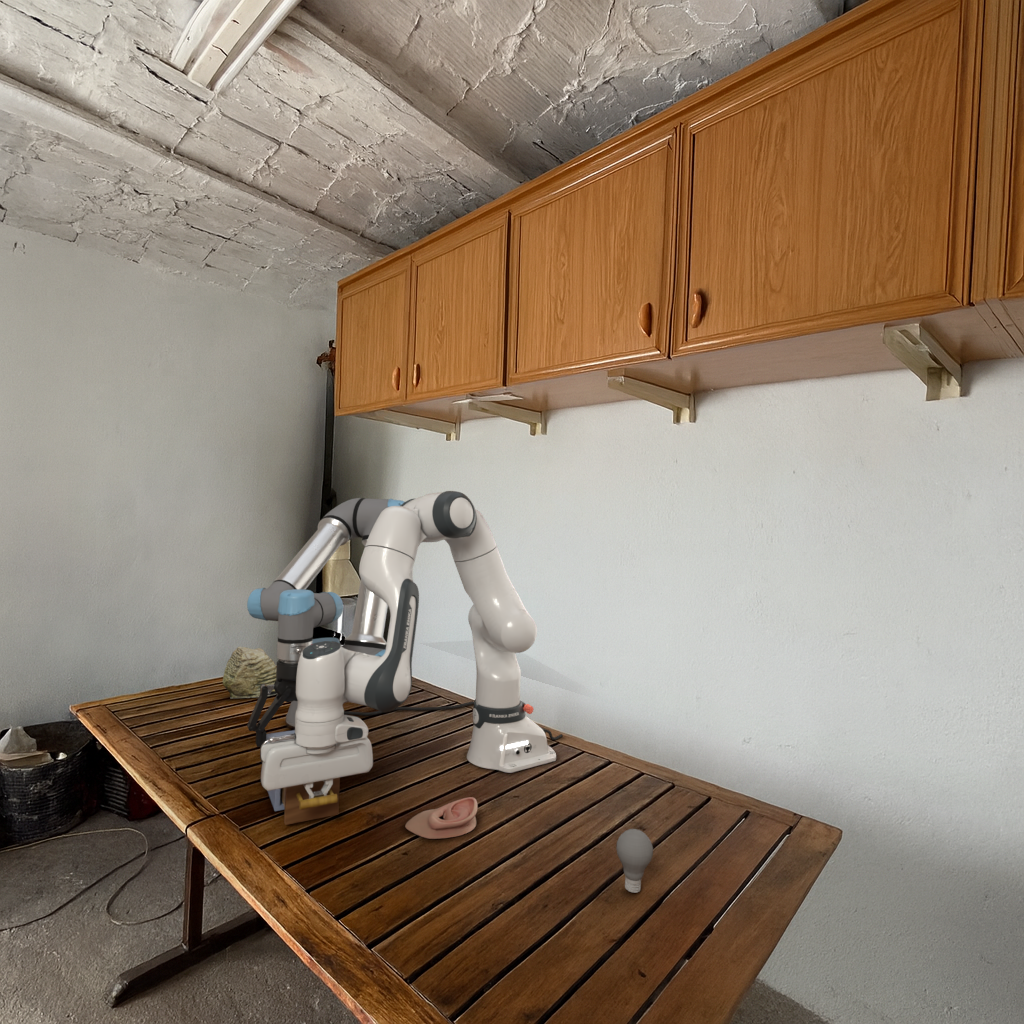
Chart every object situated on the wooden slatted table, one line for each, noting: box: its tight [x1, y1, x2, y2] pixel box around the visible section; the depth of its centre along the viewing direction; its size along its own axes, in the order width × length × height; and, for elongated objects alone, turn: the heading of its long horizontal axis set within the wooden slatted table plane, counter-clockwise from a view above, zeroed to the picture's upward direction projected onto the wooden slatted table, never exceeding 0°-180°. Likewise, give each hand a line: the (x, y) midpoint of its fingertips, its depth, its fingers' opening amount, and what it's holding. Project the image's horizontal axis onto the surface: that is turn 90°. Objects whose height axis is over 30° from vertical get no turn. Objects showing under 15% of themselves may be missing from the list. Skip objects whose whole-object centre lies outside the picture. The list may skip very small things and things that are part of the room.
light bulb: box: [615, 828, 654, 894], centre depth 106 cm, size 6×6×10 cm
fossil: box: [222, 646, 277, 699], centre depth 198 cm, size 9×18×15 cm, turn 132°
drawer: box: [280, 777, 341, 826], centre depth 127 cm, size 22×10×7 cm, turn 29°
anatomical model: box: [404, 796, 479, 840], centre depth 124 cm, size 13×4×12 cm
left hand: (291, 755), depth 143 cm, fingers closed on cabinet, 11 cm apart
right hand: (317, 802), depth 120 cm, fingers closed, pressing on drawer
